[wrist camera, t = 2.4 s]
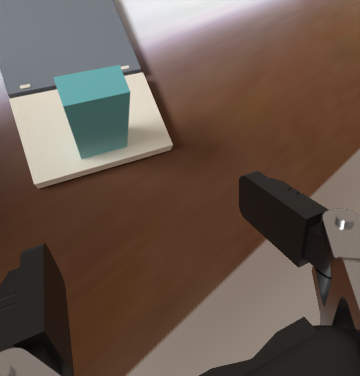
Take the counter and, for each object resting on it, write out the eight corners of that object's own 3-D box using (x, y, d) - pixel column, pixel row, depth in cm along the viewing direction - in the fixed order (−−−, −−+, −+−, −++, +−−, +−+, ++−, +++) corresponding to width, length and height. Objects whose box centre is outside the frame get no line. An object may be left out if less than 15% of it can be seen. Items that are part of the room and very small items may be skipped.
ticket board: (12, 102, 25) (7, 93, 24) (-23, -18, 27) (-30, -32, 26) (140, 76, 28) (141, 68, 27) (97, -28, 31) (96, -41, 30)
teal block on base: (38, 188, 23) (-11, 139, 14) (13, 106, 25) (-44, 18, 16) (170, 150, 27) (195, 92, 18) (142, 80, 28) (151, -5, 19)
